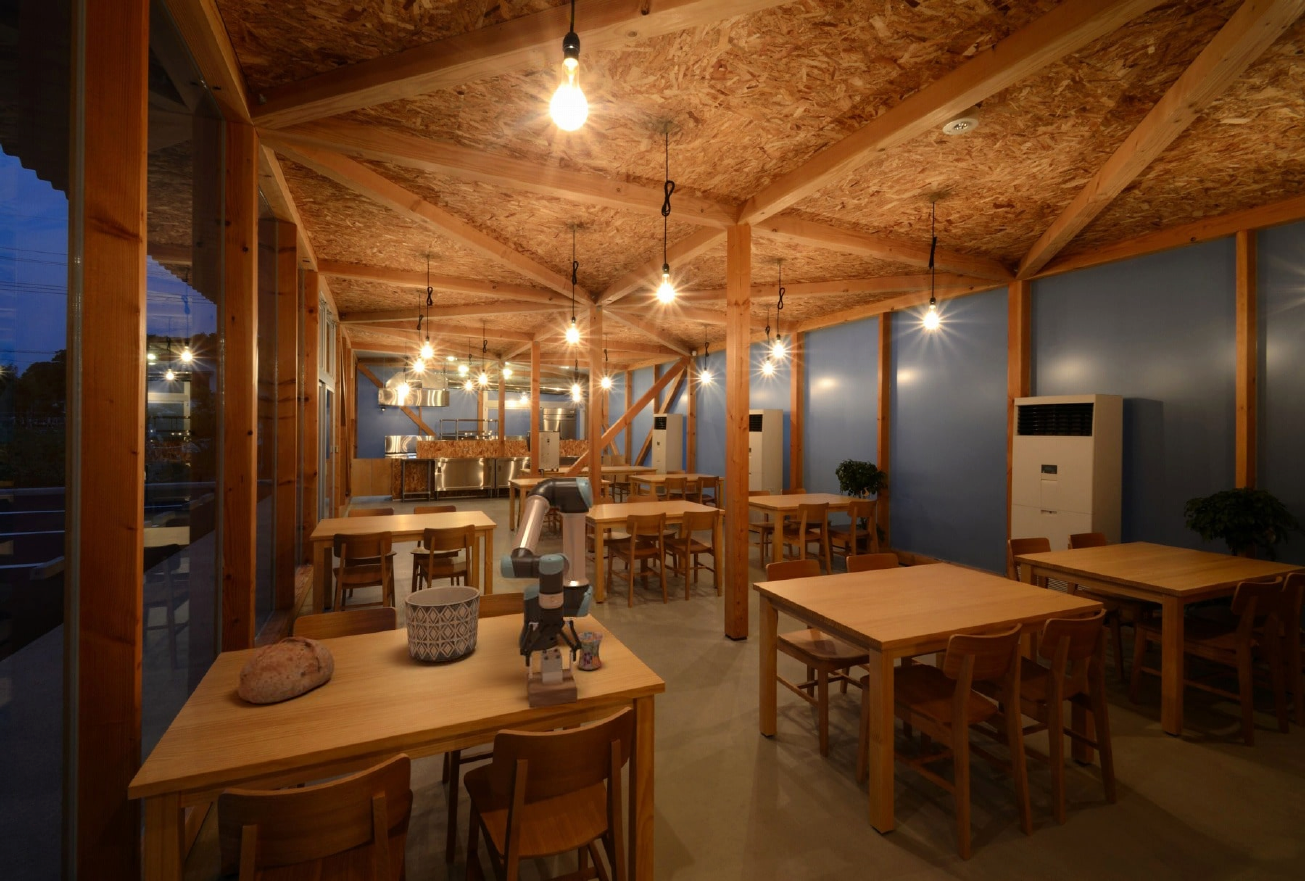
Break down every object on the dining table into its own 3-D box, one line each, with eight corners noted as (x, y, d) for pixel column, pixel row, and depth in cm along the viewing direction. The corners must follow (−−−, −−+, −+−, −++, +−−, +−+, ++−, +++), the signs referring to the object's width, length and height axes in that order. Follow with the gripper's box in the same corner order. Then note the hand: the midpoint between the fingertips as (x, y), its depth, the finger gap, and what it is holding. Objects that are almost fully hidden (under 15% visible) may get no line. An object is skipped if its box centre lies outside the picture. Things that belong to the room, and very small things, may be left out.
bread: (270, 712, 162) (270, 661, 161) (218, 699, 170) (218, 650, 170) (349, 676, 186) (349, 632, 186) (300, 666, 194) (300, 623, 194)
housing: (540, 675, 177) (540, 649, 177) (559, 673, 179) (559, 647, 179) (542, 686, 169) (542, 659, 169) (562, 684, 171) (562, 656, 171)
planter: (479, 638, 222) (479, 583, 222) (480, 663, 197) (480, 601, 197) (408, 645, 214) (408, 588, 214) (401, 672, 189) (401, 608, 189)
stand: (526, 686, 179) (526, 672, 179) (570, 680, 183) (570, 667, 183) (530, 707, 165) (530, 693, 165) (577, 701, 169) (577, 687, 169)
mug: (605, 670, 192) (605, 639, 192) (578, 673, 189) (578, 642, 189) (597, 657, 203) (597, 628, 203) (572, 660, 200) (572, 630, 200)
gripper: (512, 612, 167) (512, 683, 167) (591, 605, 173) (591, 674, 174) (511, 604, 174) (511, 673, 174) (587, 598, 181) (587, 664, 181)
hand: (551, 674), depth 174 cm, fingers open, 12 cm apart
